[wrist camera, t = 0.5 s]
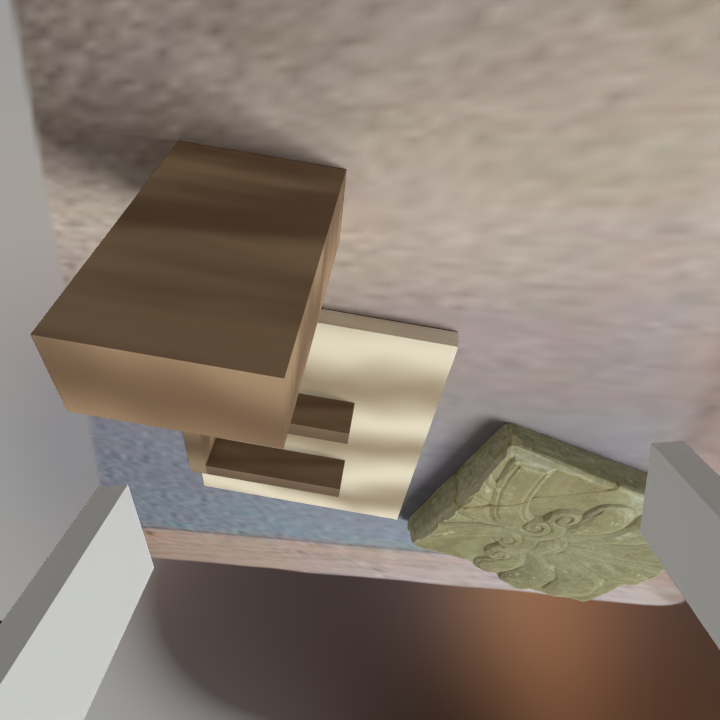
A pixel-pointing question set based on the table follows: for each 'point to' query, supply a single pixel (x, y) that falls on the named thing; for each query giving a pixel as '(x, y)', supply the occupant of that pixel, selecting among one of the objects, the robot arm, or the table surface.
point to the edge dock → (345, 420)
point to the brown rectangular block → (201, 297)
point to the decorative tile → (541, 516)
